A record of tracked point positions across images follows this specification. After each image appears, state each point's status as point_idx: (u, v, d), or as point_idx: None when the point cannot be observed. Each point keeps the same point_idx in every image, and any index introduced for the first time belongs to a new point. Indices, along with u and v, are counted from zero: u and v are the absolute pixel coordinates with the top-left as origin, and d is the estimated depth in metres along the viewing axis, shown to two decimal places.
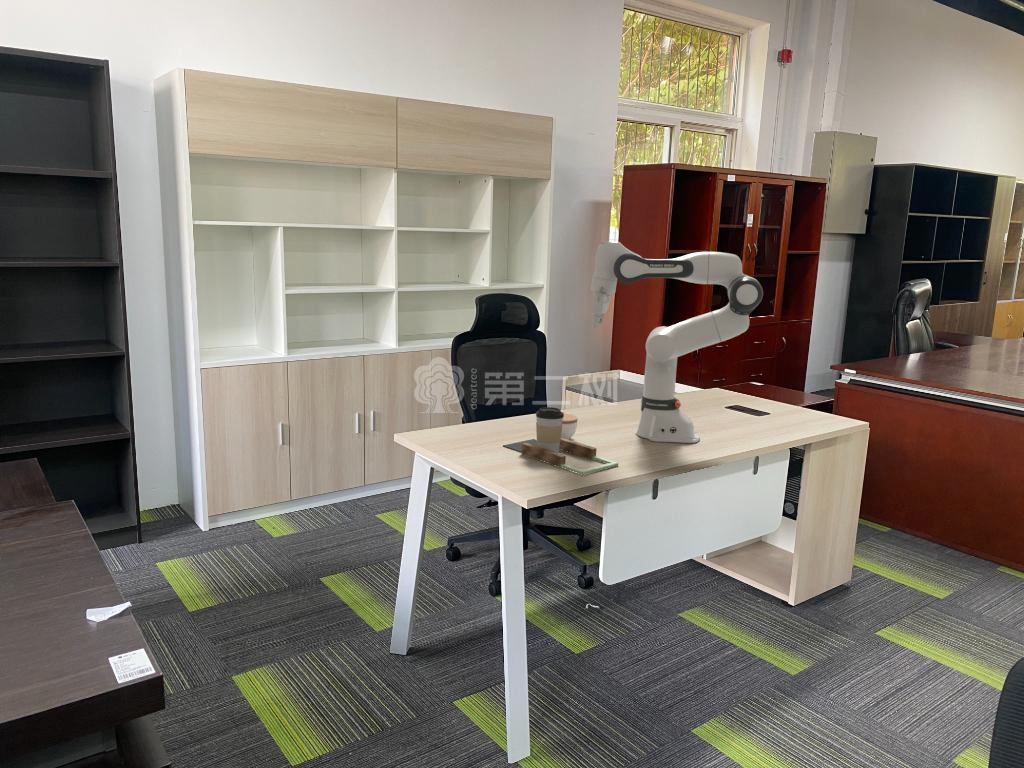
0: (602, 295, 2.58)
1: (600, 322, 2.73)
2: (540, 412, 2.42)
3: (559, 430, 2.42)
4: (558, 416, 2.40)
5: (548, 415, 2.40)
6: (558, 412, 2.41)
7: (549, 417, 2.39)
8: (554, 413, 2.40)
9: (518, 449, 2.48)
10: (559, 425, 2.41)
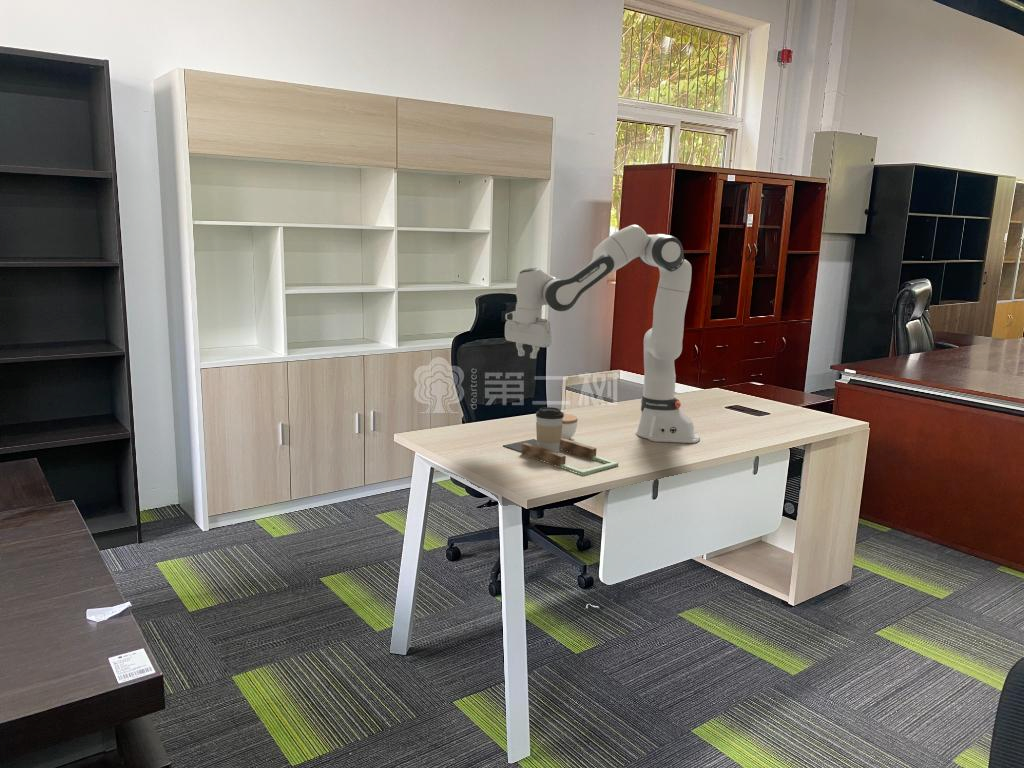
0: None
1: (523, 354, 2.57)
2: (540, 412, 2.42)
3: (559, 430, 2.42)
4: (558, 416, 2.40)
5: (548, 415, 2.40)
6: (558, 412, 2.41)
7: (549, 417, 2.39)
8: (554, 413, 2.40)
9: (518, 449, 2.48)
10: (559, 425, 2.41)
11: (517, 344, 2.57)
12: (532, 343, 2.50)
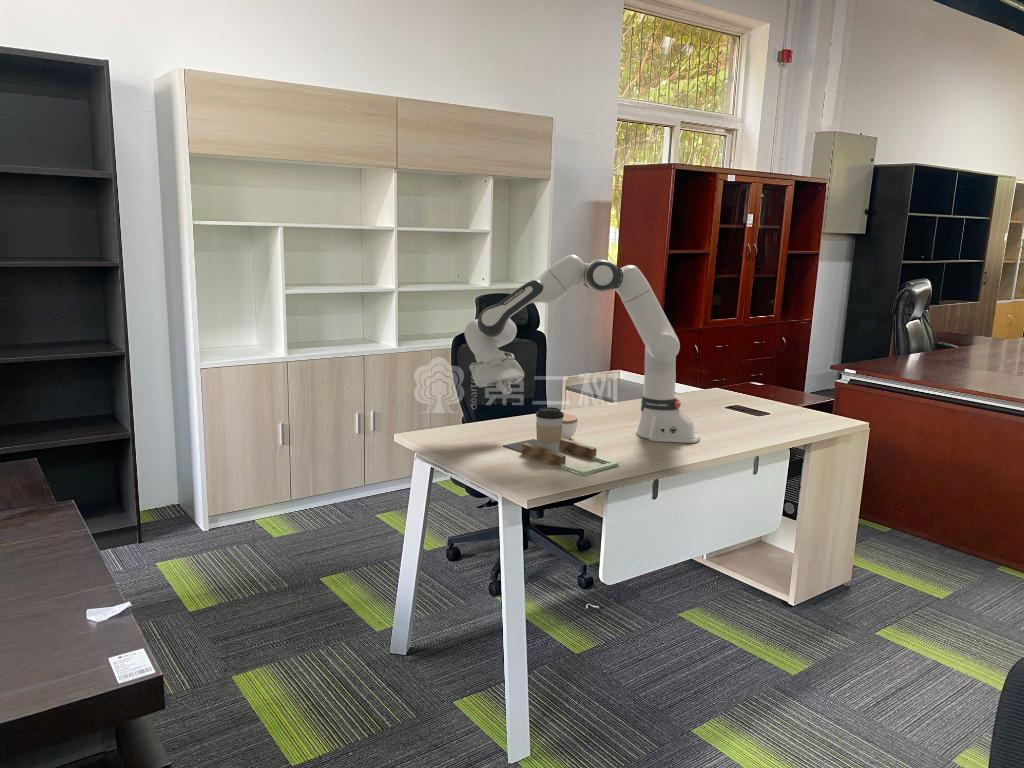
0: (475, 366, 2.56)
1: None
2: (540, 412, 2.42)
3: (559, 430, 2.42)
4: (558, 416, 2.40)
5: (548, 415, 2.40)
6: (558, 412, 2.41)
7: (549, 417, 2.39)
8: (554, 413, 2.40)
9: (518, 449, 2.48)
10: (559, 425, 2.41)
11: None
12: None
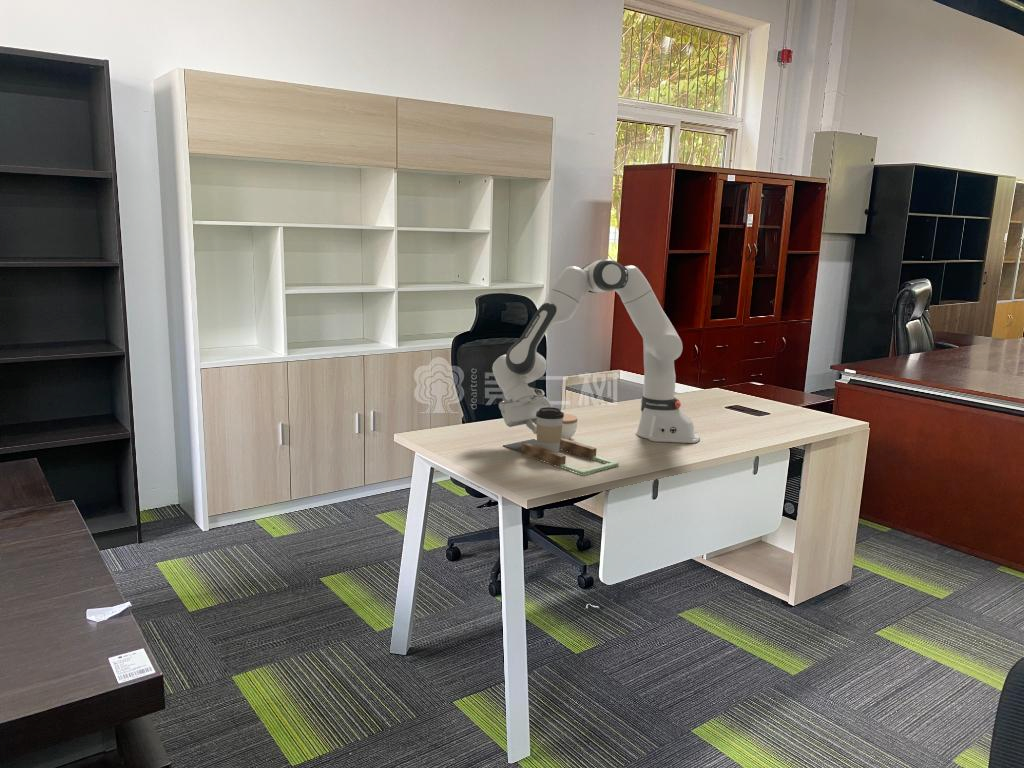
0: (504, 405, 2.46)
1: None
2: (540, 412, 2.41)
3: (559, 430, 2.42)
4: (558, 416, 2.40)
5: (548, 415, 2.39)
6: (558, 412, 2.41)
7: (549, 417, 2.39)
8: (554, 413, 2.40)
9: (518, 449, 2.48)
10: (559, 425, 2.41)
11: None
12: None
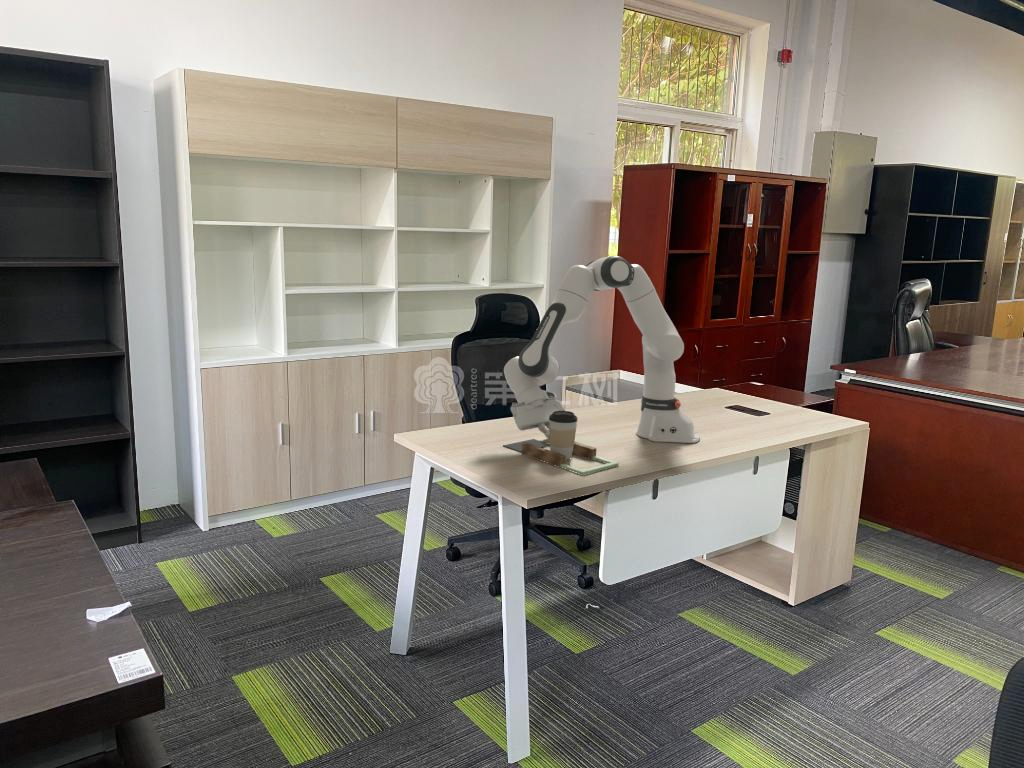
0: (516, 408, 2.42)
1: None
2: (554, 416, 2.37)
3: (573, 434, 2.38)
4: (572, 420, 2.36)
5: (562, 419, 2.35)
6: (572, 416, 2.37)
7: (563, 421, 2.35)
8: (568, 417, 2.36)
9: (518, 449, 2.48)
10: (573, 429, 2.37)
11: None
12: None
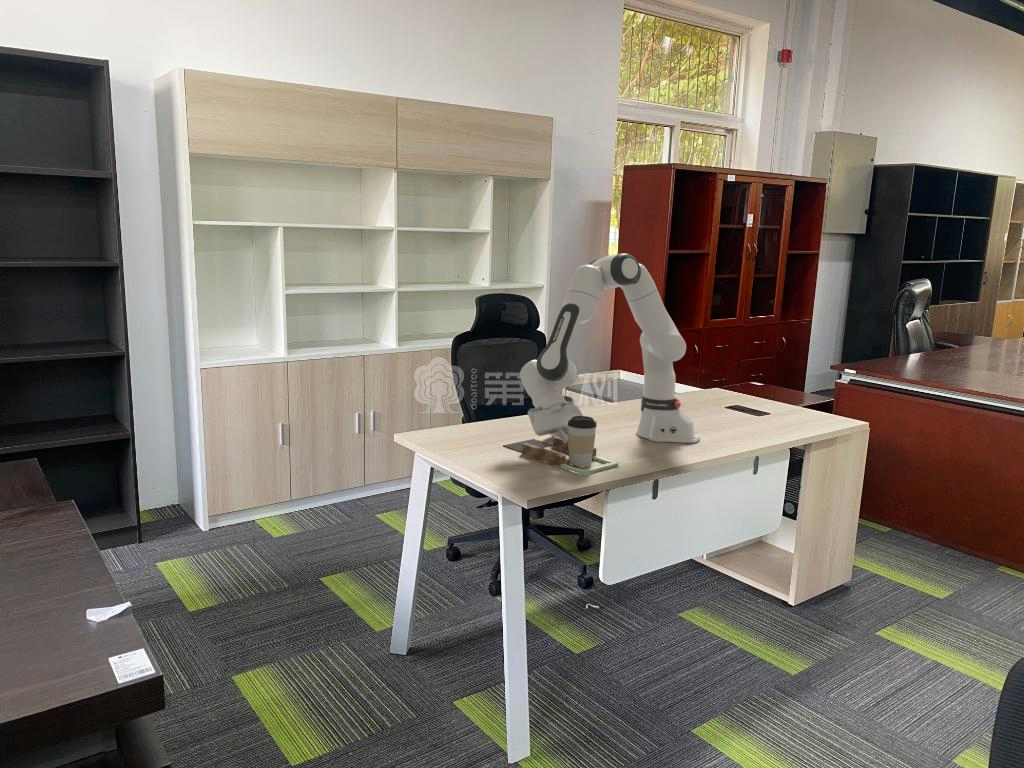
0: (534, 413, 2.36)
1: None
2: (573, 421, 2.31)
3: (593, 440, 2.31)
4: (592, 425, 2.30)
5: (582, 424, 2.29)
6: (592, 421, 2.31)
7: (583, 427, 2.28)
8: (588, 422, 2.29)
9: (518, 449, 2.48)
10: (593, 435, 2.31)
11: None
12: None
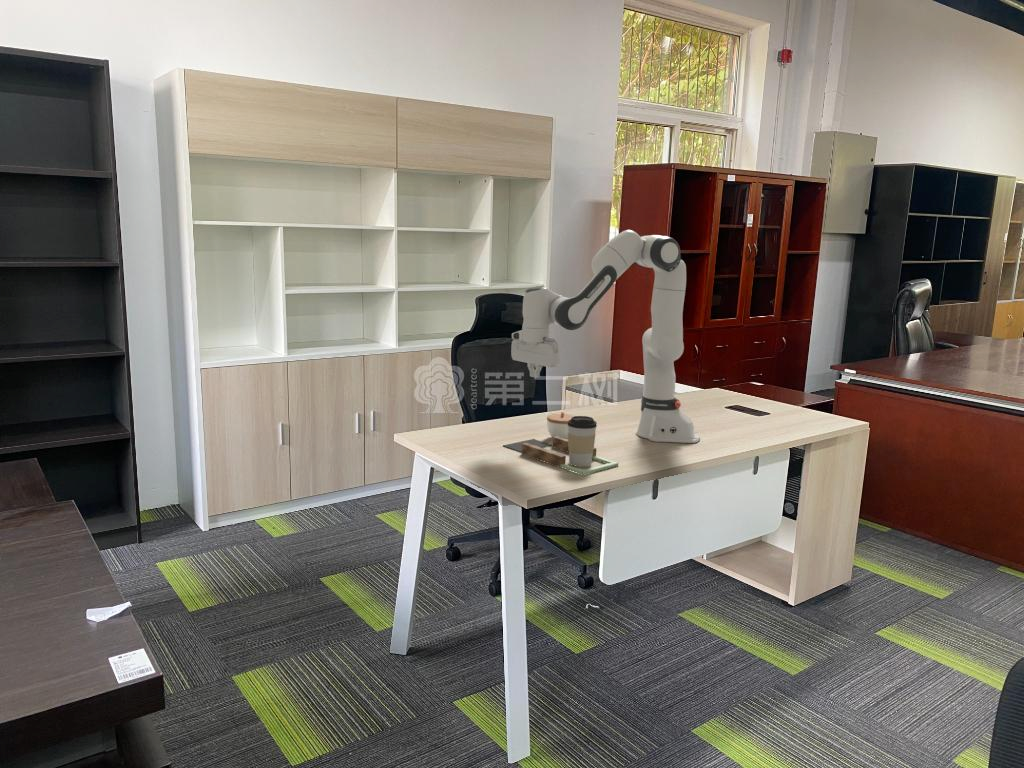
0: None
1: None
2: (573, 421, 2.31)
3: (593, 440, 2.31)
4: (592, 425, 2.30)
5: (582, 424, 2.29)
6: (592, 421, 2.31)
7: (583, 426, 2.29)
8: (588, 422, 2.29)
9: (518, 449, 2.48)
10: (593, 435, 2.31)
11: (529, 365, 2.50)
12: (539, 363, 2.44)
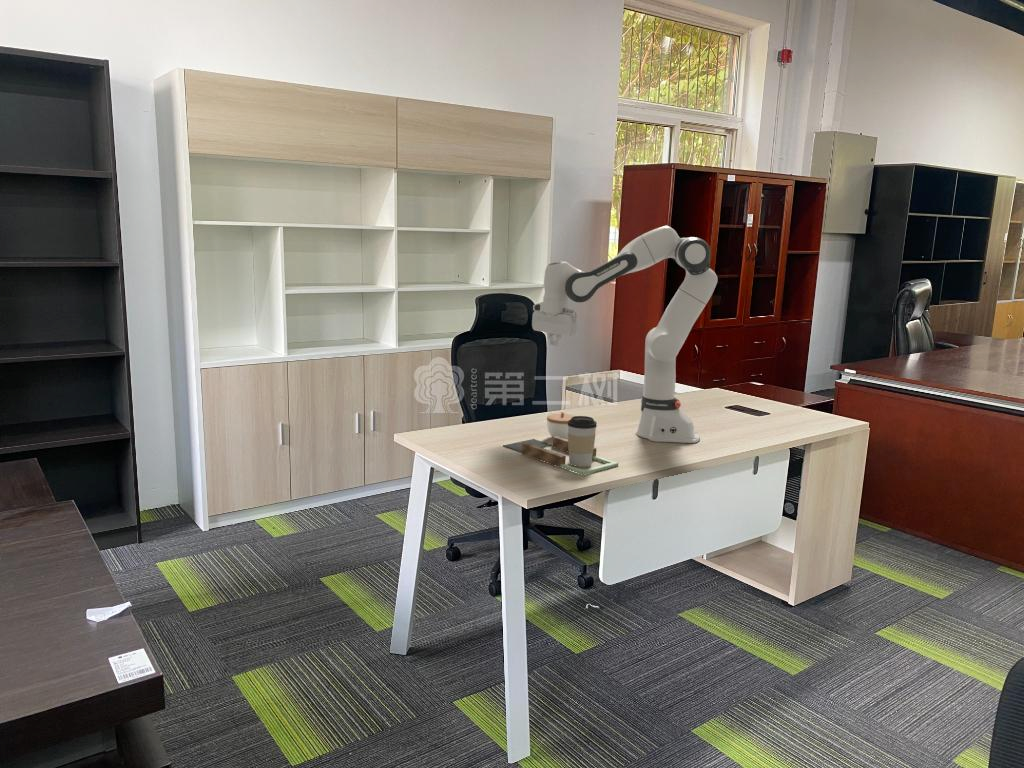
0: None
1: None
2: (573, 421, 2.31)
3: (593, 440, 2.31)
4: (592, 425, 2.30)
5: (582, 424, 2.29)
6: (592, 421, 2.31)
7: (583, 427, 2.28)
8: (588, 422, 2.29)
9: (518, 449, 2.48)
10: (593, 435, 2.31)
11: (548, 334, 2.69)
12: (559, 332, 2.64)
